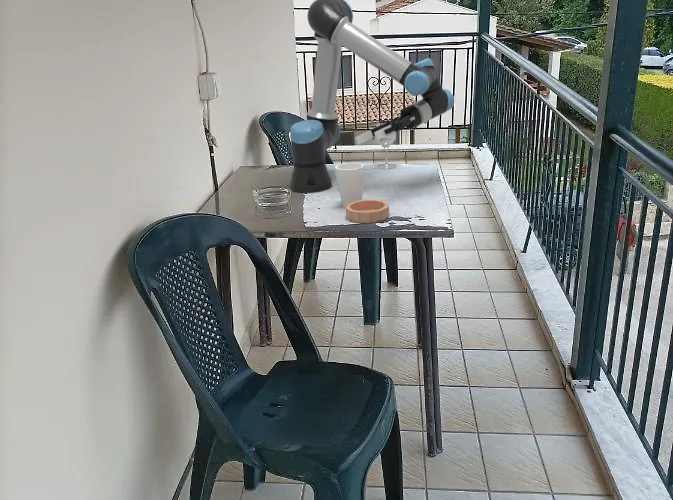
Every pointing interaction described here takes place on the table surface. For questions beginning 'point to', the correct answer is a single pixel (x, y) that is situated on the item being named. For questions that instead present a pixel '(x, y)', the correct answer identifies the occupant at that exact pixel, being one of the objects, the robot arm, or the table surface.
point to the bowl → (367, 211)
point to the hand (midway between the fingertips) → (365, 139)
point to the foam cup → (350, 182)
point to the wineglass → (386, 144)
